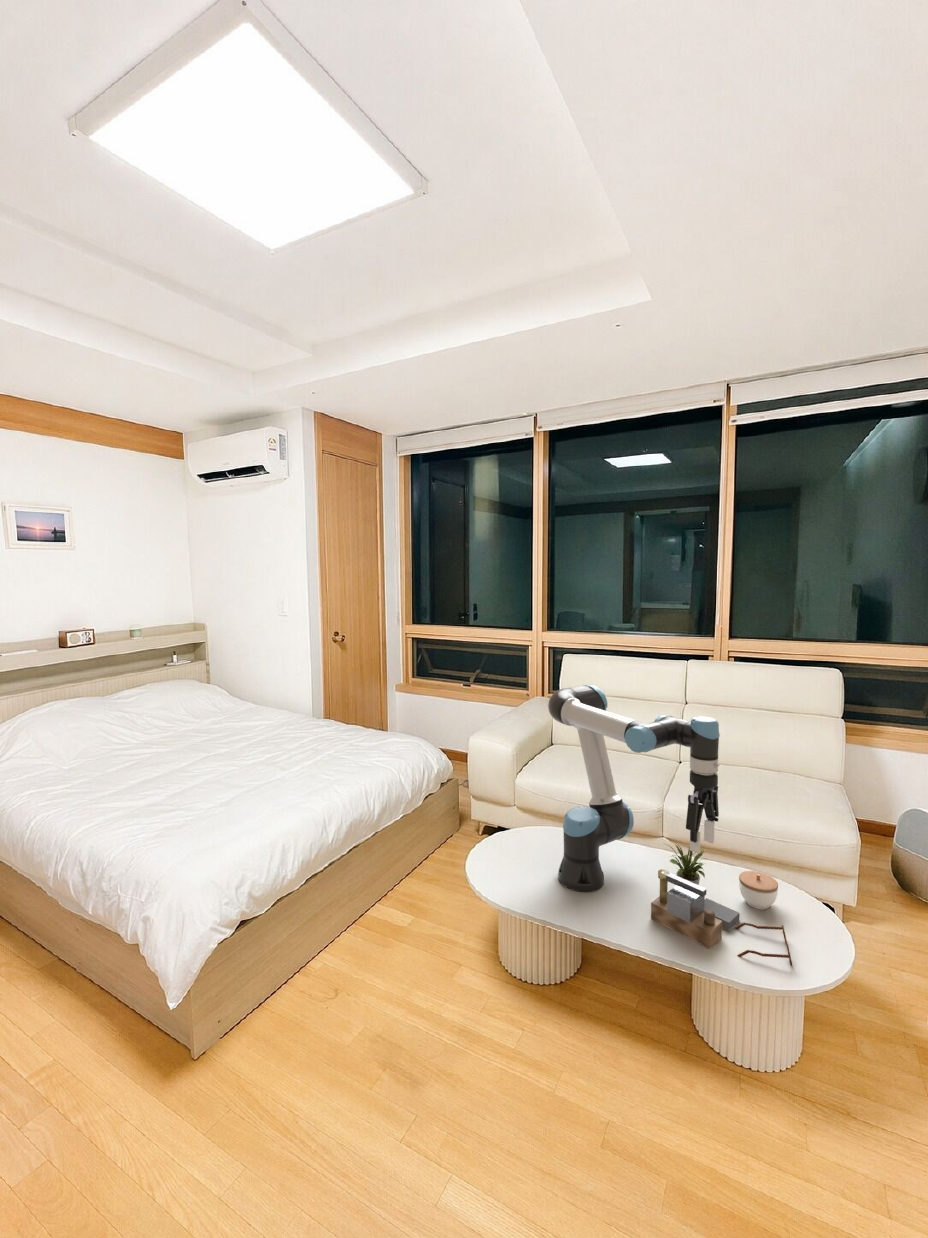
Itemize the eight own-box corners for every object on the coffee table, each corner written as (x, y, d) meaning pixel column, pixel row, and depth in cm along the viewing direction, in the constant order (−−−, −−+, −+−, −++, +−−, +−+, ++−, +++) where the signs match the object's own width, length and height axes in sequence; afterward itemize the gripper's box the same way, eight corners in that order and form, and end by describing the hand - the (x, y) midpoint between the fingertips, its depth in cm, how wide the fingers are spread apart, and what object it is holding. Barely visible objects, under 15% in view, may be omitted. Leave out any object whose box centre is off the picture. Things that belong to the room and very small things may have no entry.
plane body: (650, 918, 166) (651, 880, 165) (663, 909, 170) (663, 871, 169) (710, 949, 152) (711, 907, 151) (721, 937, 156) (722, 897, 155)
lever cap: (666, 912, 160) (667, 892, 160) (681, 900, 166) (681, 881, 165) (690, 923, 155) (690, 903, 155) (704, 911, 161) (704, 891, 160)
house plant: (656, 899, 175) (657, 849, 174) (663, 877, 188) (664, 831, 186) (705, 911, 169) (707, 860, 167) (709, 888, 181) (710, 840, 180)
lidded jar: (772, 918, 165) (773, 888, 164) (733, 904, 172) (734, 875, 171) (781, 902, 173) (782, 874, 172) (744, 889, 180) (745, 862, 179)
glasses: (793, 970, 144) (793, 952, 144) (737, 958, 149) (737, 940, 149) (785, 939, 156) (786, 923, 156) (734, 928, 161) (734, 912, 161)
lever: (656, 877, 165) (656, 872, 165) (661, 873, 168) (661, 868, 167) (701, 898, 155) (702, 892, 155) (707, 893, 157) (707, 888, 157)
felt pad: (695, 915, 167) (695, 907, 167) (706, 905, 171) (706, 898, 171) (728, 931, 159) (729, 922, 159) (739, 921, 164) (739, 913, 164)
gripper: (699, 783, 150) (697, 864, 152) (732, 765, 164) (730, 839, 166) (673, 776, 156) (671, 853, 158) (708, 759, 169) (706, 831, 171)
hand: (702, 846), depth 162 cm, fingers open, 8 cm apart
